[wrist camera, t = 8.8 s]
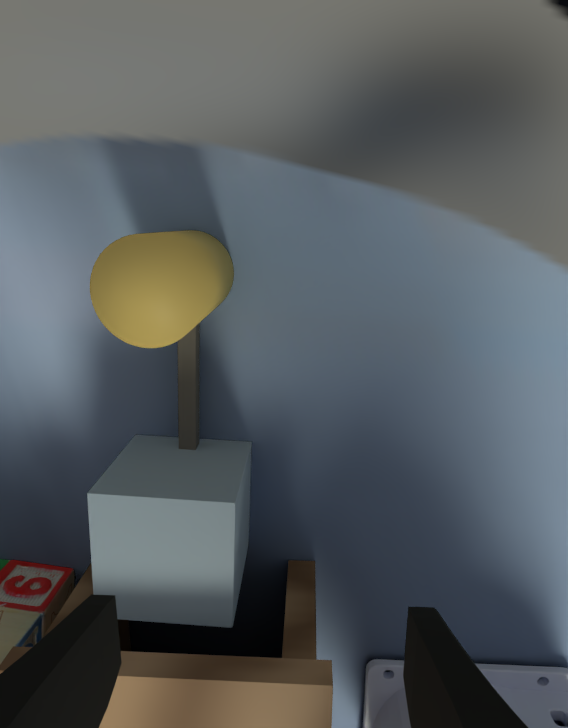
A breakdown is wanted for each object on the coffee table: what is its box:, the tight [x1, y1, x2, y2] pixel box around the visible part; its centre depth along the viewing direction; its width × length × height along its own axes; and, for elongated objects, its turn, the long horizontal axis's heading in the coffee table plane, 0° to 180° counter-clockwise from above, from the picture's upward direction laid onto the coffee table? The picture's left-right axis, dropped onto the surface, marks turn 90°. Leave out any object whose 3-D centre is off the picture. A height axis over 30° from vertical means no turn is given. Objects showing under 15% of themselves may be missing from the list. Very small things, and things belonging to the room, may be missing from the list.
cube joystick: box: [87, 230, 252, 628], centre depth 19 cm, size 5×14×6 cm, turn 177°
